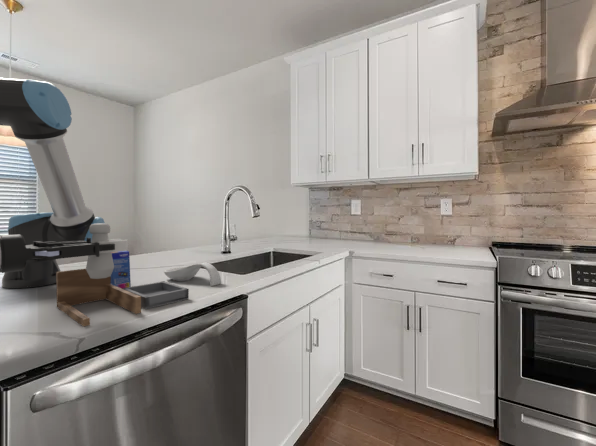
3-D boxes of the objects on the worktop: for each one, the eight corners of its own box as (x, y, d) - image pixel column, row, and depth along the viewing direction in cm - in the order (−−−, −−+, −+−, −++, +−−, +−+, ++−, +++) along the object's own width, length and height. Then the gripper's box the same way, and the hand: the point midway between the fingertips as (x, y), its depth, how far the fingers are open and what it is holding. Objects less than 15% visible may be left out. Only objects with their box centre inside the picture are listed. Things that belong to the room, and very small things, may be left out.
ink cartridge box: (99, 287, 99) (99, 242, 98) (118, 284, 103) (118, 241, 102) (111, 293, 92) (111, 244, 92) (131, 289, 97) (131, 243, 96)
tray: (122, 298, 87) (122, 288, 87) (163, 290, 96) (163, 281, 96) (145, 309, 78) (145, 297, 78) (188, 299, 88) (188, 288, 87)
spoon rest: (156, 280, 111) (156, 260, 111) (183, 274, 121) (183, 256, 121) (204, 289, 99) (204, 267, 99) (229, 282, 110) (229, 262, 109)
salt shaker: (83, 280, 72) (82, 224, 71) (88, 275, 77) (87, 222, 76) (112, 278, 74) (111, 224, 73) (116, 273, 79) (115, 222, 79)
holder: (56, 307, 79) (56, 271, 78) (108, 297, 88) (108, 265, 88) (83, 326, 66) (82, 284, 66) (140, 312, 75) (140, 276, 75)
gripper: (-9, 267, 66) (112, 255, 84) (5, 279, 56) (138, 263, 74) (-10, 232, 66) (111, 228, 84) (3, 238, 56) (138, 231, 74)
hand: (124, 244), depth 79 cm, fingers closed on salt shaker, 3 cm apart
